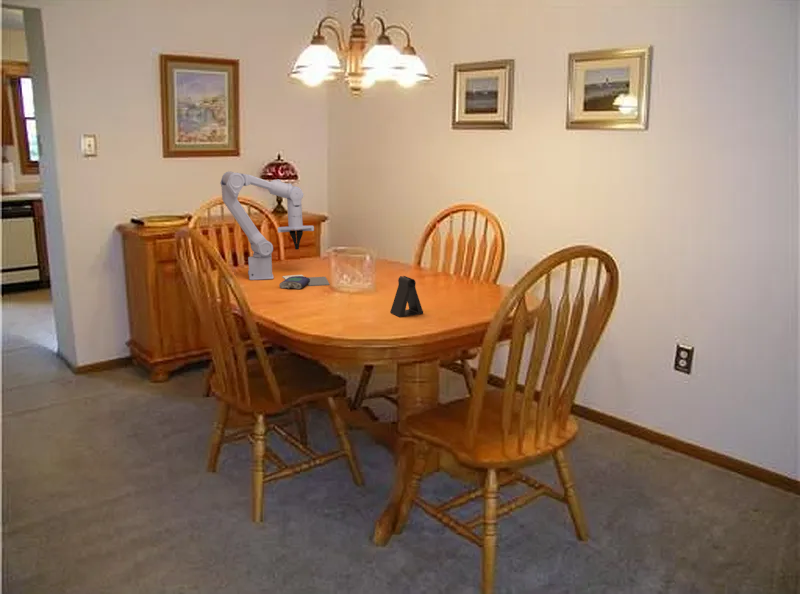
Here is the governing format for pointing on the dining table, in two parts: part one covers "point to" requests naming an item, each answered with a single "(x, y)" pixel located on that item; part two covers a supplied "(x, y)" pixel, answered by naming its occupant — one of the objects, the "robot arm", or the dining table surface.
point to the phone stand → (406, 298)
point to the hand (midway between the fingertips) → (297, 249)
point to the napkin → (290, 276)
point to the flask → (295, 282)
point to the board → (318, 281)
